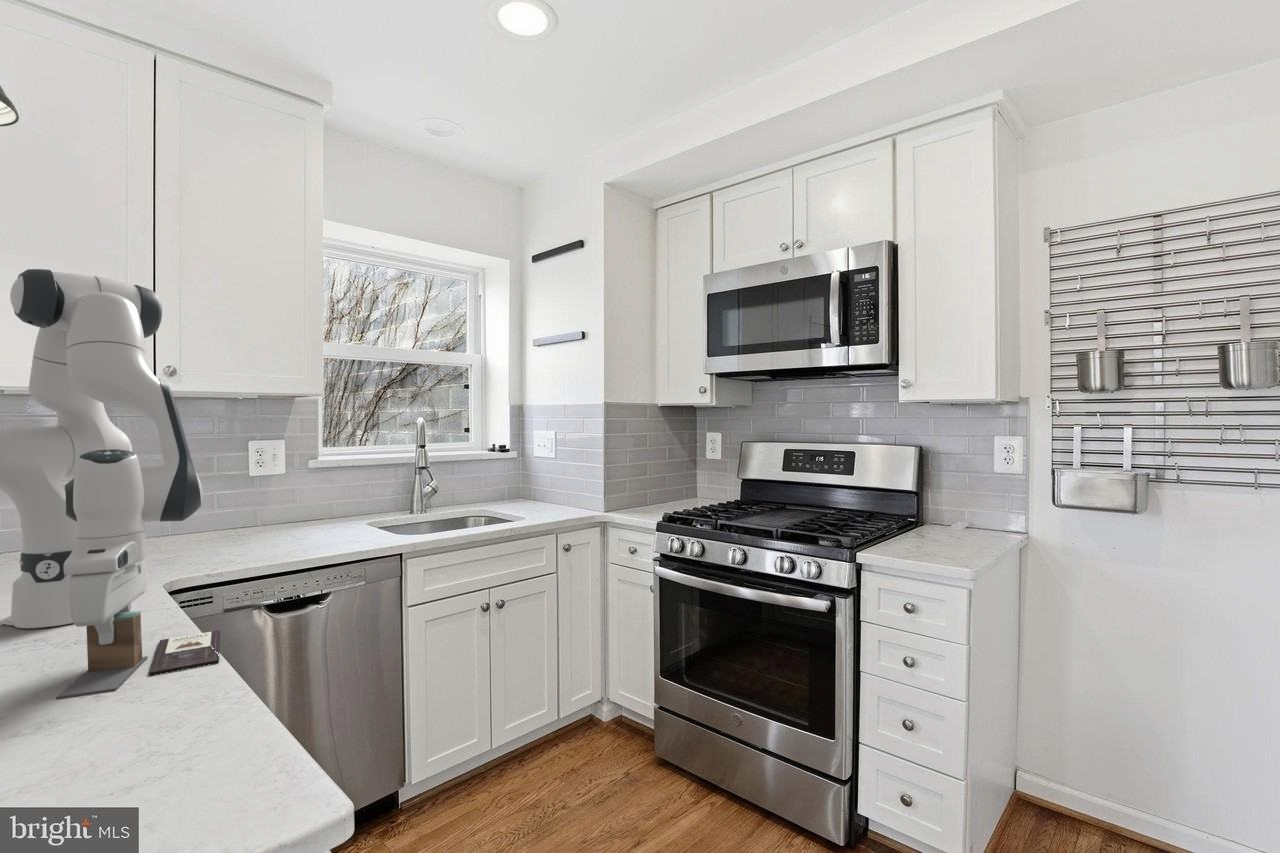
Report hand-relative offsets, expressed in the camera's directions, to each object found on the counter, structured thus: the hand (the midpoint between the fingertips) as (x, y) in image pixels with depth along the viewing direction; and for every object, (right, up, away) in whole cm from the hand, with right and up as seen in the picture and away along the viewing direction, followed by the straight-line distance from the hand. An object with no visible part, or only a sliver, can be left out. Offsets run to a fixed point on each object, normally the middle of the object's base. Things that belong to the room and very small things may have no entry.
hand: (114, 637), depth 104 cm
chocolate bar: (+7, -5, +6) cm, 11 cm away
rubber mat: (+2, -5, -4) cm, 6 cm away
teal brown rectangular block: (0, -5, 0) cm, 5 cm away
